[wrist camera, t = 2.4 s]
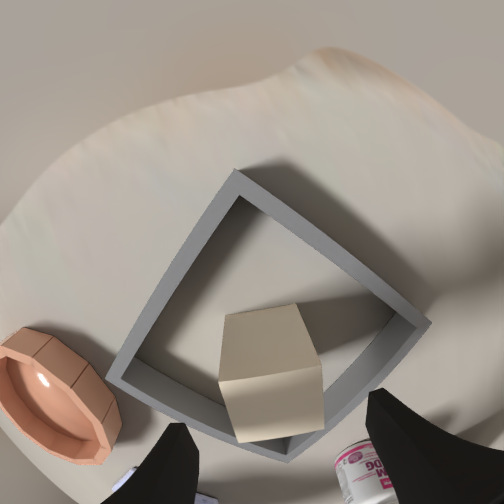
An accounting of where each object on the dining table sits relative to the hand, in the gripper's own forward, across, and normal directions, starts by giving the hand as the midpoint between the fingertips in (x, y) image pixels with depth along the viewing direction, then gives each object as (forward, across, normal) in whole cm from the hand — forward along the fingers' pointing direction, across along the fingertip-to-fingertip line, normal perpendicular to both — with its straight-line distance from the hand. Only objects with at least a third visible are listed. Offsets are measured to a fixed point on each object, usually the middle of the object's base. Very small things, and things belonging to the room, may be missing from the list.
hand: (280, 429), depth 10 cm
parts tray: (+7, 0, 0) cm, 7 cm away
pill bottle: (+7, -6, +15) cm, 18 cm away
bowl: (+7, +18, +4) cm, 19 cm away
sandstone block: (+7, 0, 0) cm, 7 cm away
